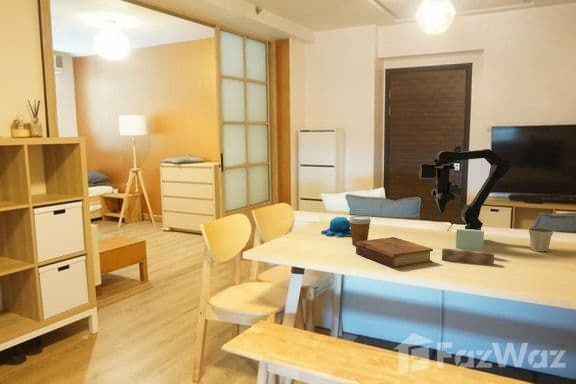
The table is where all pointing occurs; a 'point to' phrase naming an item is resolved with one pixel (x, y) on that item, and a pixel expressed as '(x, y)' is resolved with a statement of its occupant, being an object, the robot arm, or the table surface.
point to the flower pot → (540, 238)
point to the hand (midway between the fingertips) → (442, 213)
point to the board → (468, 256)
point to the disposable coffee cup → (359, 228)
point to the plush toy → (338, 227)
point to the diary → (394, 252)
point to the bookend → (469, 240)
